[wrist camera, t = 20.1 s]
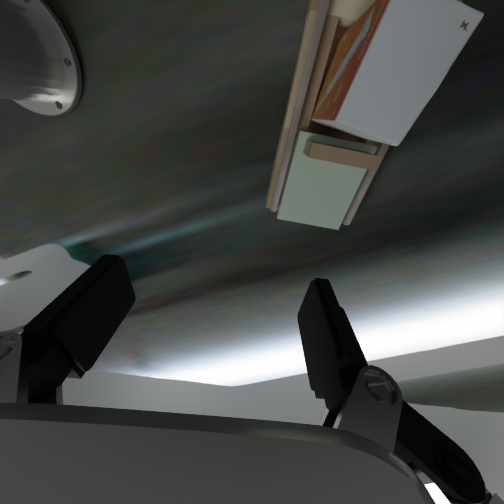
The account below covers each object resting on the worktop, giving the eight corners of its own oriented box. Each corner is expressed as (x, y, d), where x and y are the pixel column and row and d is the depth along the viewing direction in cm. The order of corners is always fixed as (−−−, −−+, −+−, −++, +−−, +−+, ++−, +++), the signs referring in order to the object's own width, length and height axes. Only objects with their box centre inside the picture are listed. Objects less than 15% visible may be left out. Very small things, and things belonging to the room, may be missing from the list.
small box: (337, 38, 22) (404, -35, 12) (386, 60, 23) (491, 10, 12) (305, 120, 27) (333, 121, 16) (347, 136, 28) (400, 148, 17)
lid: (276, 216, 32) (278, 230, 28) (299, 130, 25) (306, 133, 21) (336, 226, 33) (346, 242, 28) (373, 145, 26) (394, 151, 22)
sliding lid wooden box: (266, 201, 34) (266, 210, 31) (314, -21, 20) (324, -48, 17) (344, 215, 35) (352, 226, 31) (441, 10, 21) (473, -9, 18)
